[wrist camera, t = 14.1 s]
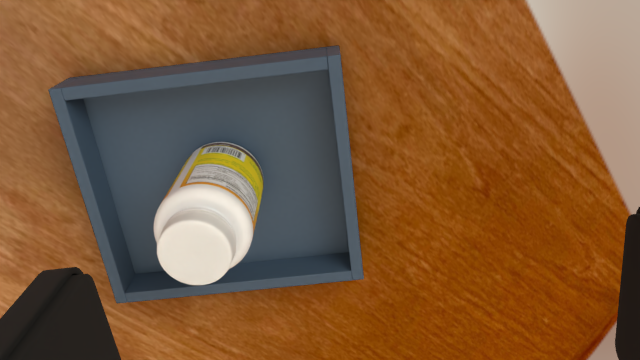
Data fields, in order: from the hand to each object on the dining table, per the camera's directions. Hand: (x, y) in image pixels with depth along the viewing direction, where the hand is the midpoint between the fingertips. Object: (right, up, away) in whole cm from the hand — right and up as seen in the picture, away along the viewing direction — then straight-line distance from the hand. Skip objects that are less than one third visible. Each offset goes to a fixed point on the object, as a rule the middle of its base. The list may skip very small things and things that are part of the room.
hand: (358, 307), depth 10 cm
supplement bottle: (-7, +3, +29) cm, 30 cm away
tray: (-7, +3, +29) cm, 30 cm away
